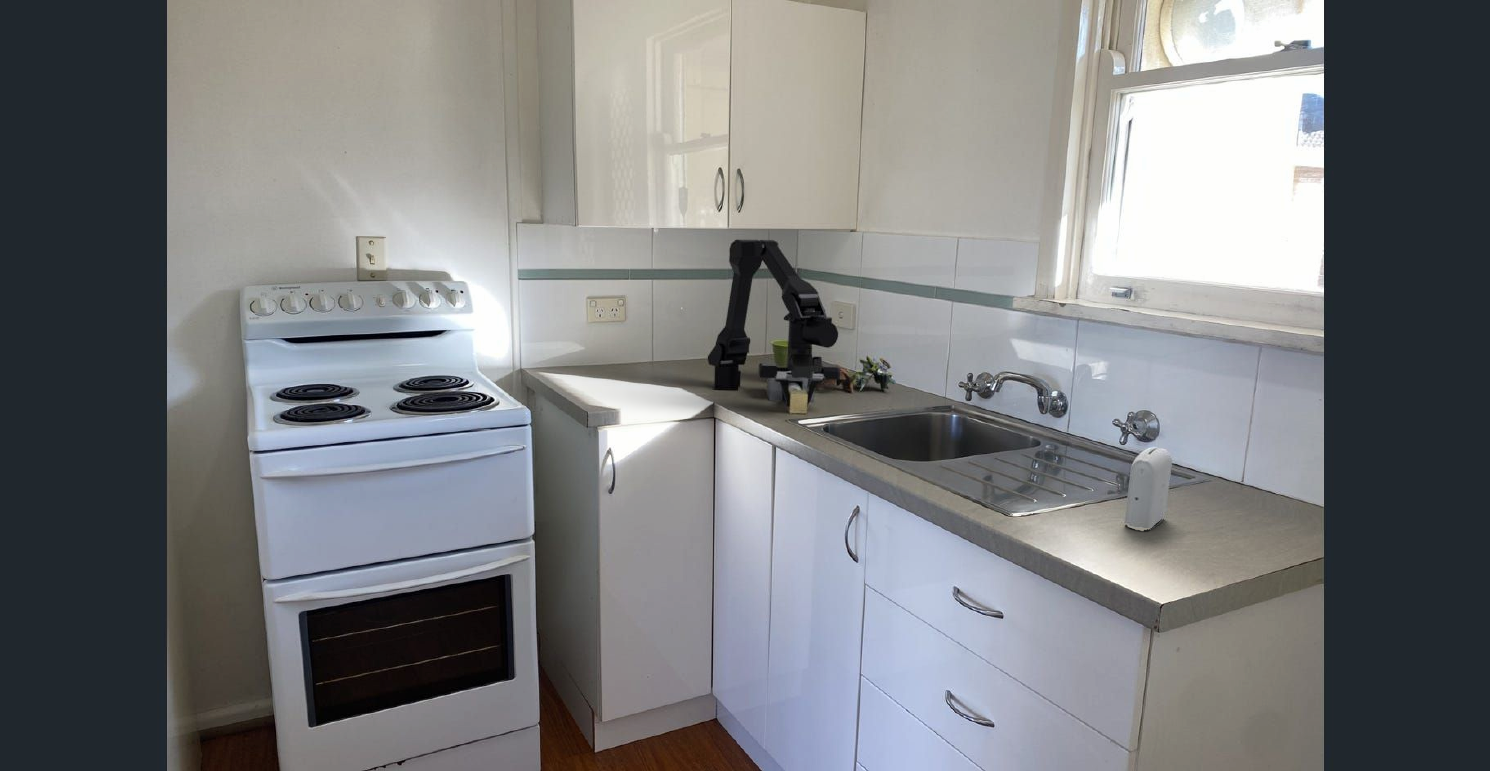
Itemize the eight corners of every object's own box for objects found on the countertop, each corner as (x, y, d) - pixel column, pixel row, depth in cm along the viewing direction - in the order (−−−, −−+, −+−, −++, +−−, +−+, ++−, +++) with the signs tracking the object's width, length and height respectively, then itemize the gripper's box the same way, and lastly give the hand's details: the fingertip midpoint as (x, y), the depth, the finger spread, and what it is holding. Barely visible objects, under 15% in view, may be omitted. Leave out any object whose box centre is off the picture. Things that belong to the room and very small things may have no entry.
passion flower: (881, 410, 248) (907, 378, 241) (852, 406, 241) (877, 374, 235) (862, 380, 254) (887, 349, 248) (833, 376, 248) (858, 344, 242)
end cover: (781, 397, 232) (782, 379, 231) (799, 397, 232) (800, 379, 232) (788, 413, 215) (789, 393, 214) (807, 413, 215) (808, 394, 214)
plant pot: (805, 389, 244) (807, 347, 242) (763, 385, 248) (764, 344, 246) (816, 381, 255) (818, 341, 253) (776, 377, 259) (777, 338, 257)
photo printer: (1148, 534, 142) (1158, 457, 140) (1120, 527, 145) (1129, 452, 143) (1168, 518, 150) (1177, 445, 148) (1141, 512, 153) (1150, 440, 150)
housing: (766, 391, 239) (767, 367, 238) (808, 392, 240) (809, 368, 239) (770, 400, 229) (771, 375, 227) (813, 401, 229) (815, 376, 228)
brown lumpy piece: (857, 397, 239) (844, 371, 235) (823, 411, 241) (811, 385, 238) (854, 377, 249) (842, 352, 246) (822, 390, 252) (810, 365, 248)
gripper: (763, 345, 206) (760, 413, 209) (845, 347, 207) (841, 415, 210) (759, 338, 217) (757, 403, 220) (837, 340, 218) (834, 404, 221)
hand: (797, 406), depth 217 cm, fingers closed on end cover, 4 cm apart
